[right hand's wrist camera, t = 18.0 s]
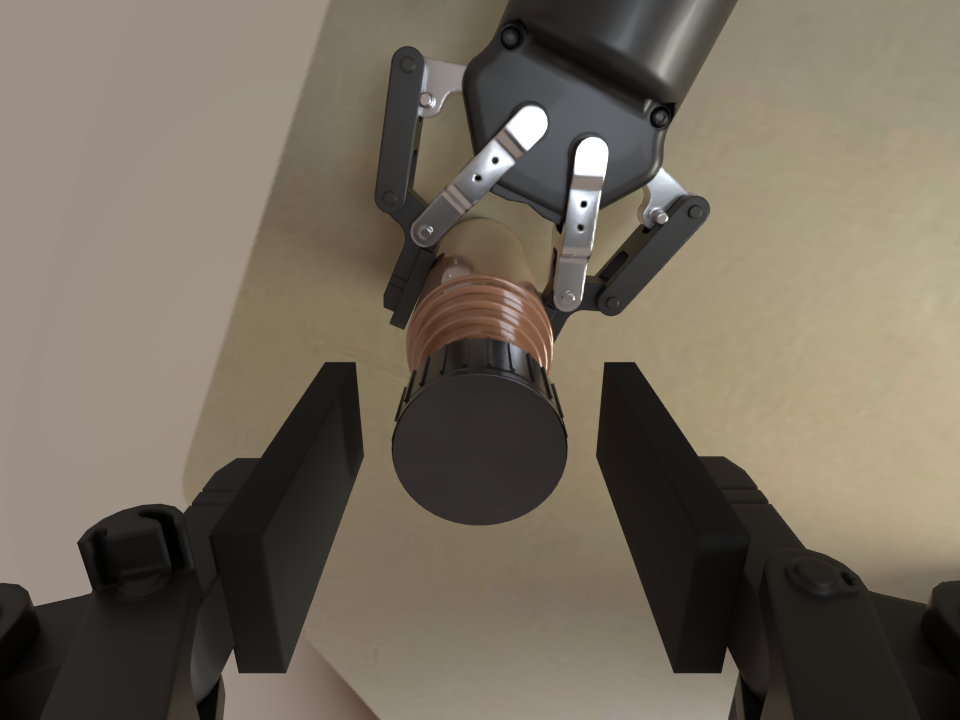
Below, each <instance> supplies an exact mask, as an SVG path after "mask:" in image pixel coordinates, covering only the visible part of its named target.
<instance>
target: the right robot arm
mask: <svg viewBox="0 0 960 720" xmlns="http://www.w3.org/2000/svg"><path fill="white" fill-rule="evenodd" d="M363 457H364V452H363V441H362V429H361V418H360V407H359V396H358V384H357V373H356V362H325V363H324V365H323V366H322V368H321V369H320V371H319V372H318V374H317V375H316V377H315V378H314V380H313V381H312V383H311V384H310V386H309V387H308V389H307V390H306V392H305V393H304V395H303V396H302V398H301V399H300V401H299V402H298V403H297V405H296V406H295V408H294V409H293V411H292V412H291V414H290V415H289V417H288V418H287V420H286V421H285V423H284V424H283V426H282V427H281V429H280V430H279V432H278V433H277V435H276V436H275V438H274V439H273V441H272V442H271V444H270V445H269V446H268V448H267V449H266V451H265V452H264V454H263V455H262V457H261V458H236V459H235V460H233V461H232V462H230V463H229V464H227V465H226V466H224V467H223V468H221V469H220V470H218V471H217V472H215V474H214V475H213V476H212V478H211V479H210V480H209V481H208V483H207V484H206V485H205V487H204V488H203V492H200V493H199V494H198V496H197V497H196V498H195V499H194V501H193V502H192V506H189V507H188V508H187V510H186V511H185V512H184V514H183V513H182V512H181V511H180V510H178V509H177V508H176V507H174V506H169V505H164V504H150V505H141V506H137V507H133V508H129V509H125V510H122V511H120V512H117V513H115V514H113V515H111V516H109V517H106V518H104V519H102V520H101V521H99V522H98V523H97V524H95V525H94V526H92V527H91V528H90V529H88V530H87V531H86V532H85V533H84V535H83V536H82V537H81V538H80V540H79V541H78V542H77V544H78V547H79V550H80V553H81V556H82V559H83V562H84V565H85V568H86V571H87V574H88V577H89V580H90V583H91V586H92V589H93V590H92V593H90V594H87V595H83V596H80V597H75V598H71V599H66V600H62V601H57V602H53V603H48V604H44V605H39V606H35V607H34V606H33V603H32V601H31V598H30V596H29V593H28V591H27V590H25V589H24V588H23V587H21V586H20V585H18V584H8V583H0V720H223V714H224V704H225V690H224V683H223V679H222V675H221V672H222V670H223V668H224V666H225V664H226V662H227V660H228V658H229V656H230V654H231V651H232V649H234V653H235V658H236V662H237V667H238V671H239V673H286V672H287V669H288V666H289V663H290V661H291V658H292V655H293V652H294V649H295V647H296V644H297V641H298V638H299V636H300V633H301V630H302V627H303V624H304V622H305V619H306V616H307V613H308V610H309V608H310V605H311V602H312V599H313V597H314V594H315V591H316V588H317V585H318V583H319V580H320V577H321V574H322V571H323V569H324V566H325V563H326V560H327V558H328V555H329V552H330V549H331V546H332V544H333V541H334V538H335V535H336V533H337V530H338V527H339V524H340V521H341V519H342V516H343V513H344V510H345V507H346V505H347V502H348V499H349V496H350V494H351V491H352V488H353V485H354V482H355V480H356V477H357V474H358V471H359V468H360V466H361V463H362V460H363ZM596 457H597V460H598V463H599V466H600V468H601V471H602V474H603V477H604V480H605V482H606V485H607V488H608V491H609V494H610V496H611V499H612V502H613V505H614V507H615V510H616V513H617V516H618V519H619V521H620V524H621V527H622V530H623V533H624V535H625V538H626V541H627V544H628V546H629V549H630V552H631V555H632V558H633V560H634V563H635V566H636V569H637V571H638V574H639V577H640V580H641V583H642V585H643V588H644V591H645V594H646V597H647V599H648V602H649V605H650V608H651V610H652V613H653V616H654V619H655V622H656V624H657V627H658V630H659V633H660V636H661V638H662V641H663V644H664V647H665V649H666V652H667V655H668V658H669V661H670V663H671V666H672V669H673V672H674V673H721V672H722V667H723V662H724V658H725V653H726V649H727V647H728V649H729V651H730V653H731V655H732V657H733V659H734V661H735V663H736V665H737V667H738V669H739V675H738V679H737V683H736V687H735V691H734V696H733V700H732V704H731V708H730V713H729V717H728V720H960V581H949V582H942V583H940V584H939V585H938V586H936V587H935V588H933V590H932V593H931V595H930V598H929V601H928V603H927V604H923V603H918V602H914V601H909V600H905V599H900V598H896V597H891V596H887V595H882V594H878V593H875V592H871V591H868V589H867V588H866V586H865V585H864V583H863V582H862V580H861V579H860V578H859V576H858V575H857V574H855V573H854V572H853V571H852V570H850V569H849V568H848V567H847V566H845V565H844V564H843V563H841V562H839V561H837V560H835V559H833V558H831V557H829V556H827V555H825V554H822V553H818V552H815V551H812V550H808V549H806V548H805V547H804V545H803V544H802V543H801V542H800V540H799V539H798V538H797V537H796V535H795V534H794V533H793V531H792V530H791V529H790V528H789V526H788V525H787V524H786V522H785V521H784V520H783V519H782V517H781V516H780V515H779V514H778V512H777V511H776V510H775V508H774V507H773V506H772V505H771V504H769V503H768V500H767V498H766V497H765V496H764V494H763V493H762V492H761V491H760V490H758V487H757V486H756V484H755V483H754V482H753V480H752V479H751V478H750V477H749V475H748V474H747V473H746V471H745V470H743V469H742V468H740V467H739V466H737V465H736V464H734V463H733V462H731V461H730V460H728V459H727V458H725V457H724V456H698V455H697V454H696V452H695V451H694V449H693V448H692V446H691V445H690V444H689V442H688V441H687V439H686V438H685V436H684V435H683V433H682V432H681V430H680V429H679V427H678V426H677V424H676V423H675V421H674V420H673V418H672V417H671V415H670V414H669V412H668V411H667V409H666V408H665V406H664V405H663V403H662V402H661V401H660V399H659V398H658V396H657V395H656V393H655V392H654V390H653V389H652V387H651V386H650V384H649V383H648V381H647V380H646V378H645V377H644V375H643V374H642V372H641V371H640V369H639V368H638V366H637V365H636V363H635V362H604V373H603V384H602V396H601V407H600V418H599V429H598V441H597V452H596Z"/></svg>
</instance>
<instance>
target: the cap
mask: <svg viewBox="0 0 960 720" xmlns="http://www.w3.org/2000/svg"><path fill="white" fill-rule="evenodd" d="M563 417H564V416H563V413H562V409H561V406H560V402H559V399H558V396H557V392H556V389H555V385H554V383H553V384H551V382H550V380H549V377H548V376H547V373H546V369H545V367H544V366H543V367H541V366H540V364H539V363H538V362H537V361H536V360H535V359H534V358H533V357H532V356H531V353H530V352H527V353H526V352H525V351H524V350H522V349H520V348H518V347H516V346H514V345H512V342H508V343H507V342H504V341H500V340H495V339H491V338H490V337H487V338H471V339H468V337H466V338H465V339H464V340H460V341H456V342H452V343H450V344H447V343H445V344H444V345H443V347H441V348H439V349H438V350H436V351H434V352H433V353H432V354H430V355H428V354H427V355H426V356H425V360H424V361H423V362H422V363H421V364H420V365H419V366H418V367H417V369H416V370H414V369H413V370H412V373H411V376H410V380H409V383H408V386H407V387H404V390H403V393H402V397H401V400H400V404H399V407H398V410H397V414H396V417H395V420H394V421H396V422H397V423H396V426H395V430H394V433H393V437H392V458H393V463H394V467H395V471H396V473H397V476H398V478H399V480H400V482H401V483H402V485H403V487H404V488H405V490H406V491H407V492H408V494H409V495H410V496H411V497H412V498H413V499H414V500H415V501H416V502H417V503H418V504H419V505H421V506H422V507H423V508H425V509H426V510H428V511H429V512H431V513H433V514H434V515H436V516H439V517H441V518H443V519H446V520H449V521H452V522H456V523H461V524H466V525H493V524H499V523H503V522H508V521H511V520H513V519H516V518H519V517H521V516H523V515H525V514H527V513H529V512H530V511H532V510H533V509H535V508H536V507H537V506H539V505H540V504H541V503H542V502H543V501H545V500H546V498H547V497H548V496H549V495H550V494H551V493H552V492H553V490H554V489H555V487H556V486H557V484H558V482H559V480H560V479H561V477H562V474H563V471H564V468H565V465H566V460H567V447H568V446H567V438H568V437H567V432H566V428H565V425H564V422H563Z"/></svg>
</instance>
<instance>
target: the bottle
mask: <svg viewBox="0 0 960 720" xmlns="http://www.w3.org/2000/svg"><path fill="white" fill-rule="evenodd" d="M439 246H440V247H439V250H438V253H437V256H436V258H435V260H434V262H433V265H432V267H431V269H430V272H429V274H428V276H427V278H426V280H425V283H424V286H423V288H422V291H421V294H420V296H419V299H418V302H417V304H416V307H415V310H414V312H413V315H412V318H411V321H410V323H409V327H408V331H407V340H406V347H407V360H408V366H409V370H410V373H412V370H413V369H414V370H416V369H417V367H418V366H419V365H420V364H421V363H422V362H423V361H424V360H425V356H426V355H427V354H428V355H430V354H432V353H433V352H434V351H436V350H438V349H439V348H441V347H443V345H444V344H445V343H447V344H450V343H452V342H456V341H460V340H464V339H465V338H466V337H468V339H471V338H487V337H490V338H491V339H495V340H500V341H504V342H507V343H508V342H512V345H514V346H516V347H518V348H520V349H522V350H524V351H525V352H526V353H527V352H530V353H531V356H532V357H533V358H534V359H535V360H536V361H537V362H538V363H539V364H540V366H541V367H543V366H544V367H545V369H546V373H547V376H548V375H549V372H550V369H551V365H552V359H553V332H552V328H551V324H550V321H549V318H548V315H547V313H546V310H545V307H544V305H543V302H542V299H541V296H540V294H539V291H538V288H537V285H536V283H535V280H534V277H533V275H532V272H531V269H530V266H529V264H528V261H527V258H526V256H525V253H524V250H523V248H522V245H521V243H520V241H519V239H518V238H517V236H516V235H515V234H514V233H513V232H512V231H511V230H510V229H509V228H508V227H506V226H505V225H503V224H501V223H500V222H497V221H495V220H491V219H485V218H475V219H469V220H466V221H463V222H461V223H459V224H457V225H455V226H454V227H452V228H451V229H450V230H449V231H448V232H447V233H446V234H445V235H444V237H443V238H442V240H441V241H440V243H439Z"/></svg>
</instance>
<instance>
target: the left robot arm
mask: <svg viewBox="0 0 960 720" xmlns="http://www.w3.org/2000/svg"><path fill="white" fill-rule="evenodd" d="M737 1H738V0H509V1H508V4H507V6H506V9H505V11H504V13H503V16H502V18H501V21H500V23H499V26H498V28H497V30H496V33H495V35H494V37H493V39H492V40H491V42H490V43H489V45H488V46H487V47H486V48H485V49H484V50H483V51H482V52H481V53H480V54H478V55H477V56H476V57H475V58H473V59H472V60H471V62H470V63H469V64H468V66H464V65H459V64H455V63H450V62H446V61H441V60H437V59H433V58H428V57H424V56H422V55H421V53H420V52H419V51H418V50H417V49H415V48H413V47H410V46H405V47H401V48H399V49H398V50H397V51H396V52H395V53H394V55H393V58H392V62H391V70H390V78H389V86H388V94H387V102H386V110H385V118H384V125H383V133H382V141H381V149H380V157H379V165H378V173H377V181H376V189H375V202H376V204H377V206H378V207H379V209H380V210H382V211H383V212H385V213H388V214H389V215H390V216H391V217H392V218H393V219H395V220H396V221H397V222H398V223H399V224H400V226H401V227H402V228H403V230H404V233H405V244H404V247H403V249H402V252H401V254H400V257H399V259H398V261H397V264H396V266H395V269H394V271H393V274H392V276H391V278H390V281H389V283H388V286H387V288H386V291H385V293H384V308H387V309H389V310H391V311H394V314H393V316H392V319H391V321H390V323H389V324H391V325H394V326H396V327H398V328H401V329H403V330H404V329H405V327H406V324H407V322H408V320H409V317H410V315H411V313H412V311H413V308H414V306H415V304H416V301H417V299H418V297H419V295H420V292H421V290H422V288H423V285H424V283H425V280H426V278H427V276H428V274H429V272H430V269H431V267H432V265H433V262H434V260H435V258H436V256H437V253H438V250H439V247H440V246H439V245H437V242H438V241H439V240H440V239H441V237H442V236H443V235H444V234H445V233H446V232H447V231H448V230H449V229H450V228H451V227H452V226H453V225H454V224H455V223H456V222H457V221H458V220H459V219H460V218H461V217H462V216H463V215H464V214H465V213H466V212H467V211H469V210H470V209H471V208H472V207H473V206H474V205H475V204H476V203H477V202H478V201H479V200H480V199H481V198H482V197H483V196H484V195H485V194H486V192H487V191H488V190H489V189H490V192H492V193H494V194H496V195H498V196H500V197H502V198H504V199H506V200H510V201H515V202H521V203H526V204H528V205H529V206H531V207H532V208H533V209H534V210H535V211H536V212H537V213H539V214H540V215H541V216H542V217H543V218H546V219H548V220H550V221H552V222H554V223H553V231H552V251H551V259H550V267H549V275H548V283H547V285H546V287H545V289H544V291H543V293H541V292H539V294H540V296H541V299H542V302H543V305H544V307H545V310H546V313H547V315H548V318H549V321H550V324H551V328H552V332H553V344H554V342H555V340H556V339H557V337H558V335H559V333H560V331H561V329H562V327H563V326H564V324H565V322H566V320H567V319H568V317H569V316H570V315H571V314H573V313H574V312H576V311H580V310H591V311H601V312H602V313H603V314H605V315H607V316H615V315H617V314H619V313H621V312H622V311H623V310H624V309H625V308H626V306H627V305H628V304H629V303H630V302H631V301H632V300H633V299H634V298H635V297H636V296H637V295H638V293H639V292H640V291H641V290H642V289H643V288H644V287H645V286H646V285H647V284H648V283H649V282H650V280H651V279H652V278H653V277H654V276H655V275H656V274H657V273H658V272H659V271H660V270H661V269H662V267H663V266H664V265H665V264H666V263H667V262H668V261H669V260H670V259H671V258H672V257H673V256H674V254H675V253H676V252H677V251H678V250H679V249H680V248H681V247H682V246H683V245H684V244H685V243H686V241H687V240H688V239H689V238H690V237H691V236H692V235H693V234H694V233H695V232H696V231H697V230H698V228H699V227H700V226H701V225H702V224H703V223H704V222H705V221H706V220H707V218H708V216H709V213H710V206H709V204H708V202H707V200H706V199H704V198H703V197H700V196H698V195H695V194H692V193H689V192H688V191H687V190H686V189H684V188H683V187H682V186H681V185H680V184H679V183H678V182H677V181H676V180H675V179H674V178H673V177H671V176H670V175H669V174H668V173H667V172H666V171H665V170H664V169H663V168H662V167H661V166H662V162H663V149H664V141H665V136H666V133H667V130H668V128H669V126H670V124H671V122H672V120H673V118H674V117H675V115H676V113H677V112H678V110H679V108H680V106H681V104H682V102H683V100H684V99H685V97H686V95H687V93H688V91H689V89H690V88H691V86H692V84H693V82H694V80H695V78H696V77H697V75H698V73H699V71H700V69H701V67H702V66H703V64H704V62H705V60H706V58H707V56H708V54H709V53H710V51H711V49H712V47H713V45H714V43H715V42H716V40H717V38H718V36H719V34H720V32H721V31H722V29H723V27H724V25H725V23H726V21H727V19H728V18H729V16H730V14H731V12H732V10H733V8H734V7H735V5H736V3H737ZM456 93H462V94H463V99H464V105H465V110H466V115H467V121H468V126H469V131H470V137H471V142H472V147H473V153H474V157H473V158H472V159H471V160H470V161H469V162H468V163H467V164H466V165H465V166H464V167H463V169H462V170H461V171H460V172H459V173H458V174H457V175H456V176H455V177H454V178H453V179H452V180H451V181H450V182H449V184H448V185H447V186H446V187H445V188H444V189H443V190H442V191H441V192H440V193H439V194H438V195H437V196H436V197H435V199H434V200H433V201H432V202H431V203H430V204H429V205H428V204H427V203H426V202H425V201H424V200H423V199H422V198H421V197H420V196H419V195H418V194H417V193H416V192H415V191H414V190H413V184H414V177H415V170H416V164H417V157H418V150H419V144H420V137H421V130H422V124H423V117H425V118H434V117H436V116H438V115H439V114H440V113H441V111H442V110H443V107H444V104H445V102H446V100H447V99H448V98H449V97H450V96H451V95H453V94H456ZM641 187H642V188H643V190H644V199H643V201H642V203H641V205H640V206H639V208H638V211H637V218H638V221H639V222H640V223H641V224H640V225H639V226H638V228H637V229H636V230H635V231H634V232H633V233H632V234H631V235H630V237H629V238H628V239H627V240H626V241H625V242H624V243H623V245H622V246H621V247H620V248H619V249H618V250H617V251H616V252H615V254H614V255H613V256H612V257H611V258H610V259H609V260H608V262H607V263H606V264H605V265H604V266H603V267H602V268H601V269H600V271H599V272H598V273H597V274H596V275H595V276H586V270H587V264H588V260H589V258H590V256H591V253H592V248H593V242H594V235H595V229H596V222H597V216H598V211H600V210H601V209H603V208H605V207H607V206H609V205H610V204H612V203H614V202H616V201H618V200H620V199H621V198H623V197H625V196H627V195H629V194H630V193H632V192H634V191H636V190H638V189H640V188H641Z"/></svg>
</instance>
